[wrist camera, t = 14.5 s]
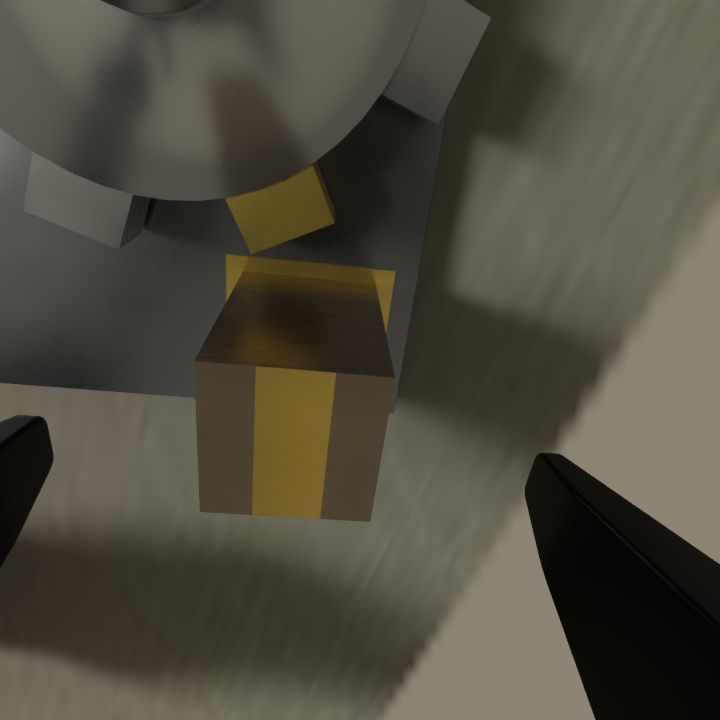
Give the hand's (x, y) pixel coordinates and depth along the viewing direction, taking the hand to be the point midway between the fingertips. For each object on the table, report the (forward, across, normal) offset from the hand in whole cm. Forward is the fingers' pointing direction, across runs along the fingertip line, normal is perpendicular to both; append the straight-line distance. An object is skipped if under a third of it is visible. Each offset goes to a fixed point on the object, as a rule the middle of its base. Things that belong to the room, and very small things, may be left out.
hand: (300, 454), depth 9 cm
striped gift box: (+5, 0, 0) cm, 5 cm away
